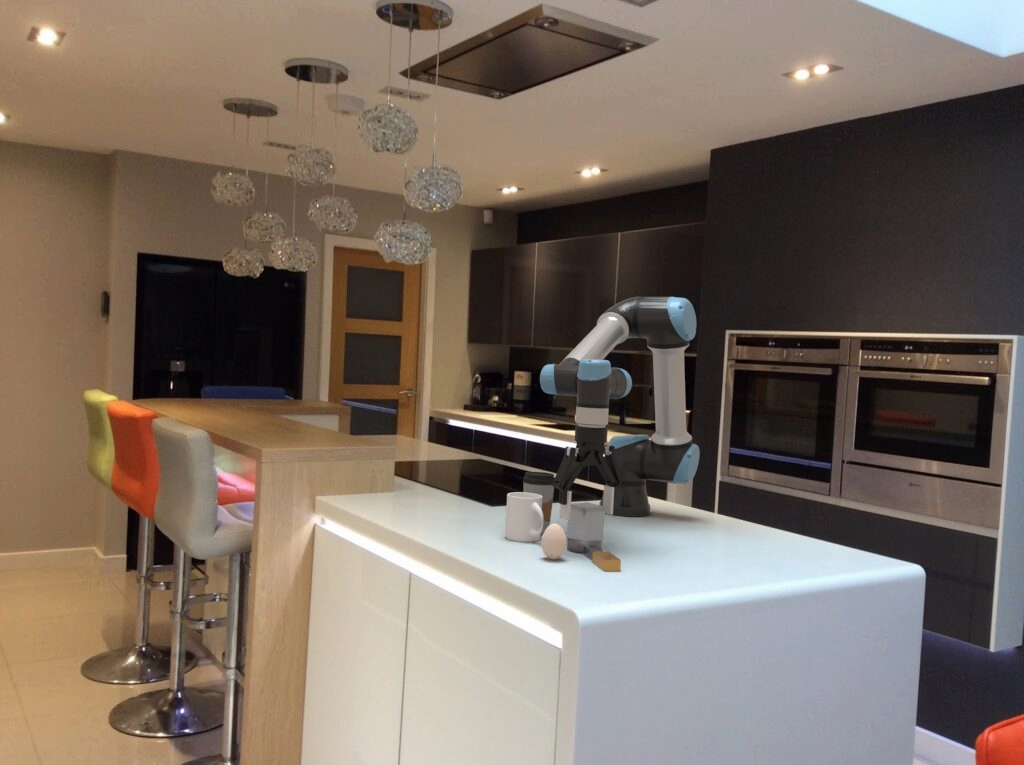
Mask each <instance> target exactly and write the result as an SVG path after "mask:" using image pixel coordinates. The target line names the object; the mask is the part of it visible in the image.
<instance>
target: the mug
mask: <svg viewBox="0 0 1024 765" xmlns="http://www.w3.org/2000/svg"><path fill="white" fill-rule="evenodd" d="M505 510H506V511H505V528H504V536H505V539H507V540H509V541H513V542H517V543H533V542H538V541H539V540H540V538H541V535H540V534H541V532H542V529H543V521H544V519H543V512H542V495H539V494H534V493H525V492H523V491H522V492H521V491H520V492H519V491H518V492H517V491H516V492H514V491H513V492H509V493H507V494H506V508H505ZM541 522H542V525H541Z"/></svg>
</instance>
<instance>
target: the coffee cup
mask: <svg viewBox="0 0 1024 765" xmlns="http://www.w3.org/2000/svg"><path fill="white" fill-rule="evenodd" d="M522 478H523V480H522V484H523V491H522V492H525V493H534V494H539V495H542V512H543V519H544V521H543V529H542V532H541V534H540V536H543V534H544V532H545V530H546V529H547V527H548V526H549V525H551V524H550V523H551V517H552V509H553V501H554V493H555V487H553V486H552V484H553V481H554V479H555V475H554V474H553V473H550V472H543V471H526V472H524V476H523V477H522ZM541 525H542V522H541Z"/></svg>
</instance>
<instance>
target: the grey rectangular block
mask: <svg viewBox="0 0 1024 765" xmlns="http://www.w3.org/2000/svg"><path fill="white" fill-rule="evenodd" d="M605 516H606V513H605V507H604V506H600V505H599V504H596V503H592V502H587V501H586V502H576V503H571V513H570V519H569V520H567V526H566V539H567V538H569V539H572V540H576V541H579V542H582V543H588V542H597V541H602V542H603V541H604V534H605V533H604V531H605V530H604V529H605V518H606V517H605Z"/></svg>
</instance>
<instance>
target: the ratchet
mask: <svg viewBox="0 0 1024 765" xmlns="http://www.w3.org/2000/svg"><path fill="white" fill-rule="evenodd" d="M602 543H603V541H597V542H588V543H582V542H579V541H576V540H572V539H569V538H567V537H566V550H567V551H569V552H571V553H576V554H581V555H584V556H586V557H587V558H588V559H589V560H591V562H592V563H593V564H595V565H596V567H598V568H600V569H601V570H602V571H604V572H621V567H622V564H621V563H622V560H621V559H620V558H619V557H618V556H616V555H615V554H613V553H612V552H610V551H608V550H603V549H602V546H603V545H602Z"/></svg>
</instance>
